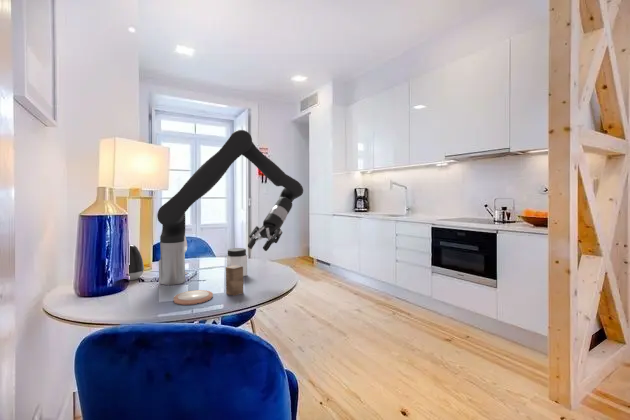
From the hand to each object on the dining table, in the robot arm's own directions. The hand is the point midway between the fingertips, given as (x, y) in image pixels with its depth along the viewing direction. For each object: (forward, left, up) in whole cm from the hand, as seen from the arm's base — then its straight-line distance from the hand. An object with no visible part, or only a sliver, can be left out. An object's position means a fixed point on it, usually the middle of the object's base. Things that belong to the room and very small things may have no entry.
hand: (256, 248), depth 128 cm
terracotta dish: (-17, -18, -15) cm, 29 cm away
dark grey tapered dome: (-59, +2, -15) cm, 61 cm away
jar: (-15, +15, -15) cm, 26 cm away
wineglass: (-43, +13, -15) cm, 47 cm away
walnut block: (-5, -10, -15) cm, 19 cm away
